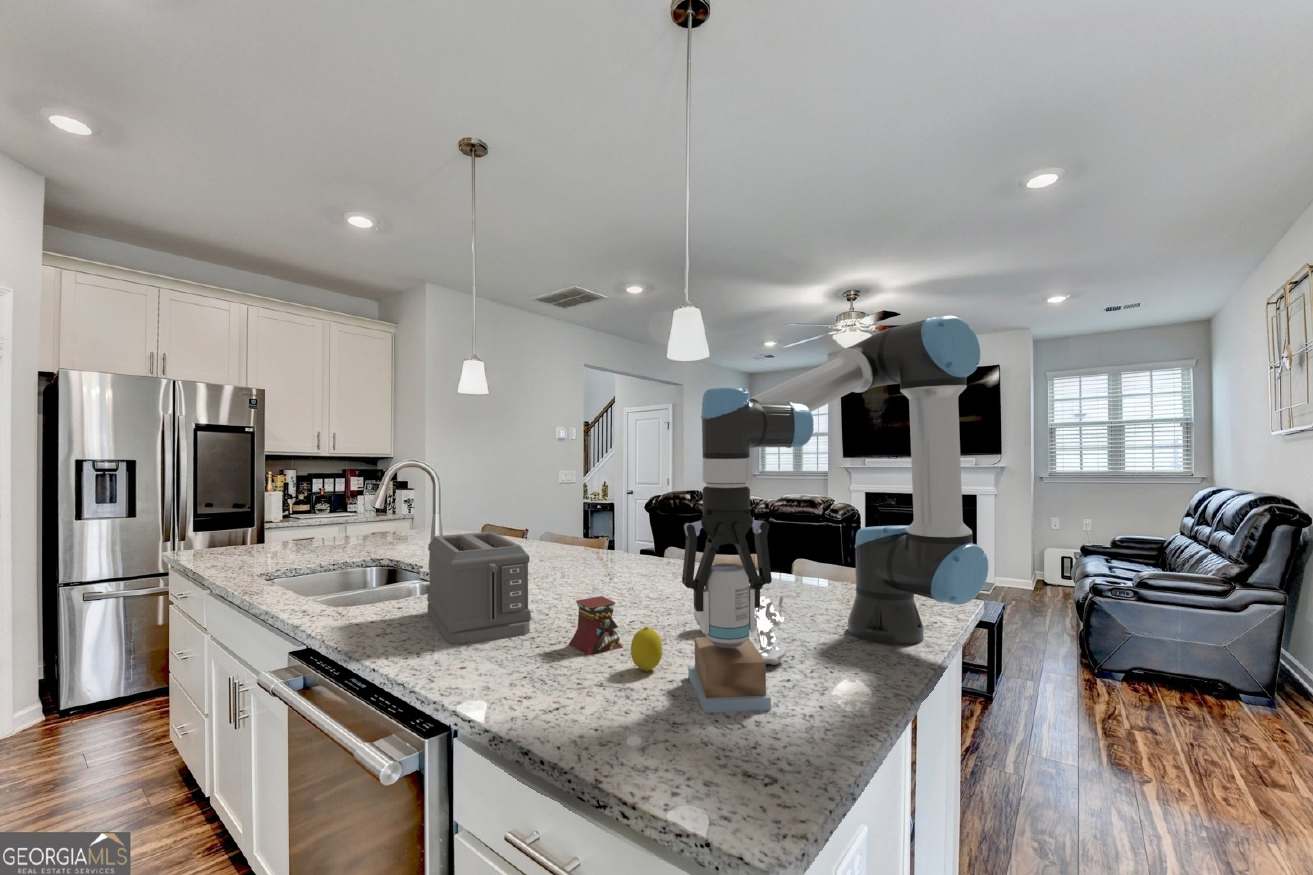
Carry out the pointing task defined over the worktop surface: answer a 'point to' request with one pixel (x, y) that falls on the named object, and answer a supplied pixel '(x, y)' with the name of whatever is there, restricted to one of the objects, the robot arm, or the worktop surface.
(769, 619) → the figurine
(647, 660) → the lemon
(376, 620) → the worktop surface
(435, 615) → the toaster
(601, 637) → the tiki totem
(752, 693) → the walnut brick
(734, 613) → the beverage can
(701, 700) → the base brick
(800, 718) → the worktop surface
